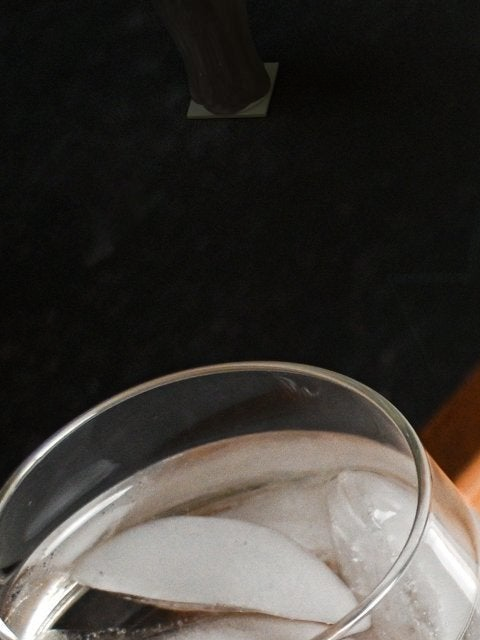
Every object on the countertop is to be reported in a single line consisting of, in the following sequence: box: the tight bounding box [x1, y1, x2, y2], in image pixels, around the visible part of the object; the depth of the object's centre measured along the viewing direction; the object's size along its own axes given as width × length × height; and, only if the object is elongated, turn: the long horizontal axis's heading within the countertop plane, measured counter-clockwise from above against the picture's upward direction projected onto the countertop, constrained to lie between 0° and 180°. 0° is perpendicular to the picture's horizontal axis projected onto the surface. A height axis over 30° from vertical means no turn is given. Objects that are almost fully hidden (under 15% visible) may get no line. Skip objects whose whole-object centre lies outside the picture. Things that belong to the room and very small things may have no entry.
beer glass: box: [150, 0, 271, 115], centre depth 140 cm, size 7×7×15 cm
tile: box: [186, 62, 280, 120], centre depth 146 cm, size 6×6×1 cm
